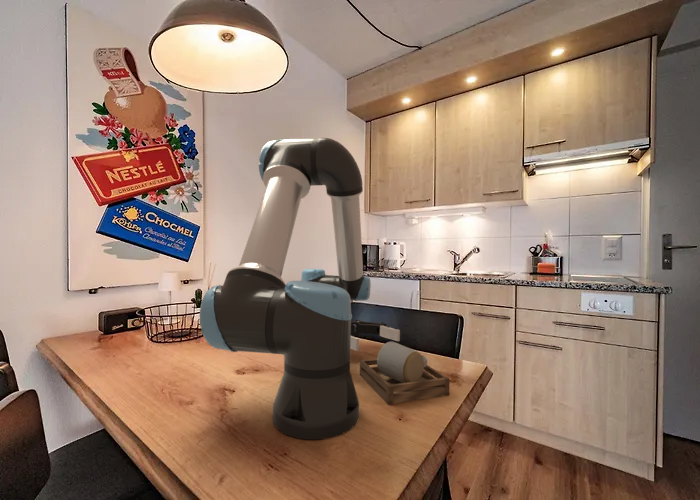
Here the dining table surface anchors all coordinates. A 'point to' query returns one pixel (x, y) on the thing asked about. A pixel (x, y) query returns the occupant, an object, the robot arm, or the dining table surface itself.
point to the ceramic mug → (400, 362)
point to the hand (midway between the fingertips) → (379, 340)
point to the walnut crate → (404, 384)
